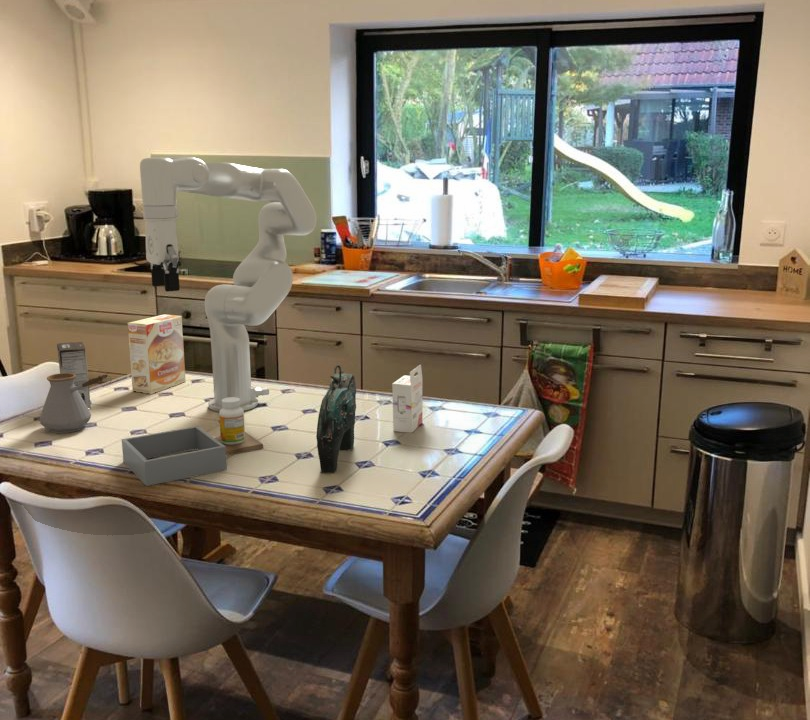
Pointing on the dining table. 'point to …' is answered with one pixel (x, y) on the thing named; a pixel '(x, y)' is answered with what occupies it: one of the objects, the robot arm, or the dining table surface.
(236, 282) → the robot arm
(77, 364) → the coffee box
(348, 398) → the green animal figurine
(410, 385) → the ink cartridge box
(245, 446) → the walnut board
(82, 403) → the coffee pot
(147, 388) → the coffeecake box
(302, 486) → the dining table surface
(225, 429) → the supplement bottle
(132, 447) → the bin
